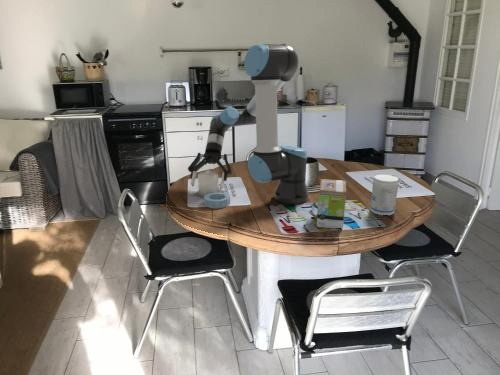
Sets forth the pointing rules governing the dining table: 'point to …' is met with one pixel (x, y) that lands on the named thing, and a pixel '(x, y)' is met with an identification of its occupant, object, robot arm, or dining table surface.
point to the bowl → (217, 200)
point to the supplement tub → (384, 194)
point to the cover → (207, 182)
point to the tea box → (331, 203)
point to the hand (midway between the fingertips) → (206, 186)
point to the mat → (203, 196)
